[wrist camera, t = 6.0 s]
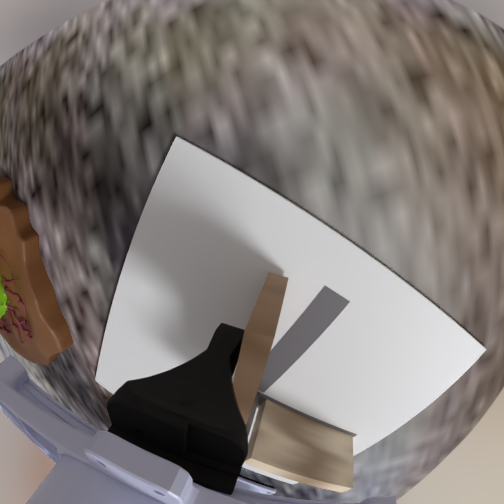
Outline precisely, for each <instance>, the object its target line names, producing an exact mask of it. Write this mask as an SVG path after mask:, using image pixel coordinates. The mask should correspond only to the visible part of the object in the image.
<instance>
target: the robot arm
mask: <svg viewBox="0 0 504 504" xmlns="http://www.w3.org/2000/svg"><path fill="white" fill-rule="evenodd" d="M244 331H245V330H244V329H241V328H237V327H234V326H231V325H228V324H225V323H221V324H220V325H219V326H218V327H217V329H216V330H215V332H214V334H213V337H212V339H211V341H210V343H209V345H208V348H207V349H206V350H205V351H203V352H202V353H200V354H199V355H197V356H196V357H194V358H193V359H191V360H189V361H187V362H185V363H183V364H181V365H179V366H177V367H175V368H173V369H170V370H168V371H165V372H162V373H159V374H156V375H153V376H149V377H145V378H140V379H135V380H129V381H126V382H125V383H124V384H123V385H122V386H121V387H120V388H119V389H118V390H117V391H116V392H115V393H114V394H113V396H112V397H111V398H110V399H109V401H108V402H107V410H108V413H109V416H110V419H111V422H112V425H111V427H110V428H109V430H108V431H101V430H99V429H97V428H96V427H94V426H92V425H91V424H89V423H88V422H86V421H85V420H83V419H82V418H80V417H79V416H77V415H76V414H74V413H73V412H71V411H70V410H69V409H67V408H66V407H64V406H63V405H62V404H60V403H59V402H58V401H56V400H55V399H54V398H52V397H51V396H50V395H49V394H47V393H46V392H45V391H44V390H42V389H41V388H40V387H39V386H37V385H36V384H35V383H34V382H33V381H32V380H30V379H29V376H28V373H27V371H26V369H25V368H24V367H23V366H22V365H21V364H20V363H19V362H18V361H17V360H16V359H15V358H14V357H13V356H11V355H10V356H9V357H8V358H6V359H5V360H4V361H3V362H2V363H0V409H1V410H2V412H3V413H4V414H5V415H6V416H7V417H8V418H9V419H10V420H11V421H12V422H13V423H14V424H15V425H16V426H17V427H18V428H19V429H20V430H21V431H22V432H23V433H24V434H25V435H26V436H27V437H28V438H29V439H30V440H31V441H32V442H33V443H34V444H35V445H36V446H37V447H38V448H39V449H40V450H42V451H43V452H44V453H45V454H46V455H47V456H48V457H49V458H51V459H52V460H53V461H54V462H56V465H55V466H54V467H53V469H52V470H51V471H50V473H49V474H48V475H47V476H46V478H45V479H44V480H43V482H42V483H41V484H40V486H39V487H38V489H37V490H36V491H35V492H34V494H33V495H32V496H31V498H30V499H29V501H28V502H27V503H26V504H396V496H379V497H370V498H367V499H365V500H363V501H362V502H361V503H335V502H319V501H309V500H300V499H292V498H285V497H279V496H273V495H271V494H274V493H276V489H273V488H270V487H267V486H264V485H261V484H258V483H255V482H252V481H250V480H247V479H244V478H241V477H239V474H240V471H241V468H242V465H243V464H244V462H245V460H246V458H247V455H248V435H247V426H246V424H245V422H244V420H243V417H242V415H241V412H240V409H239V406H238V403H237V400H236V396H235V392H234V388H233V382H232V376H233V373H234V370H235V368H236V365H237V362H238V358H239V354H240V349H241V345H242V340H243V336H244Z"/></svg>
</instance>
